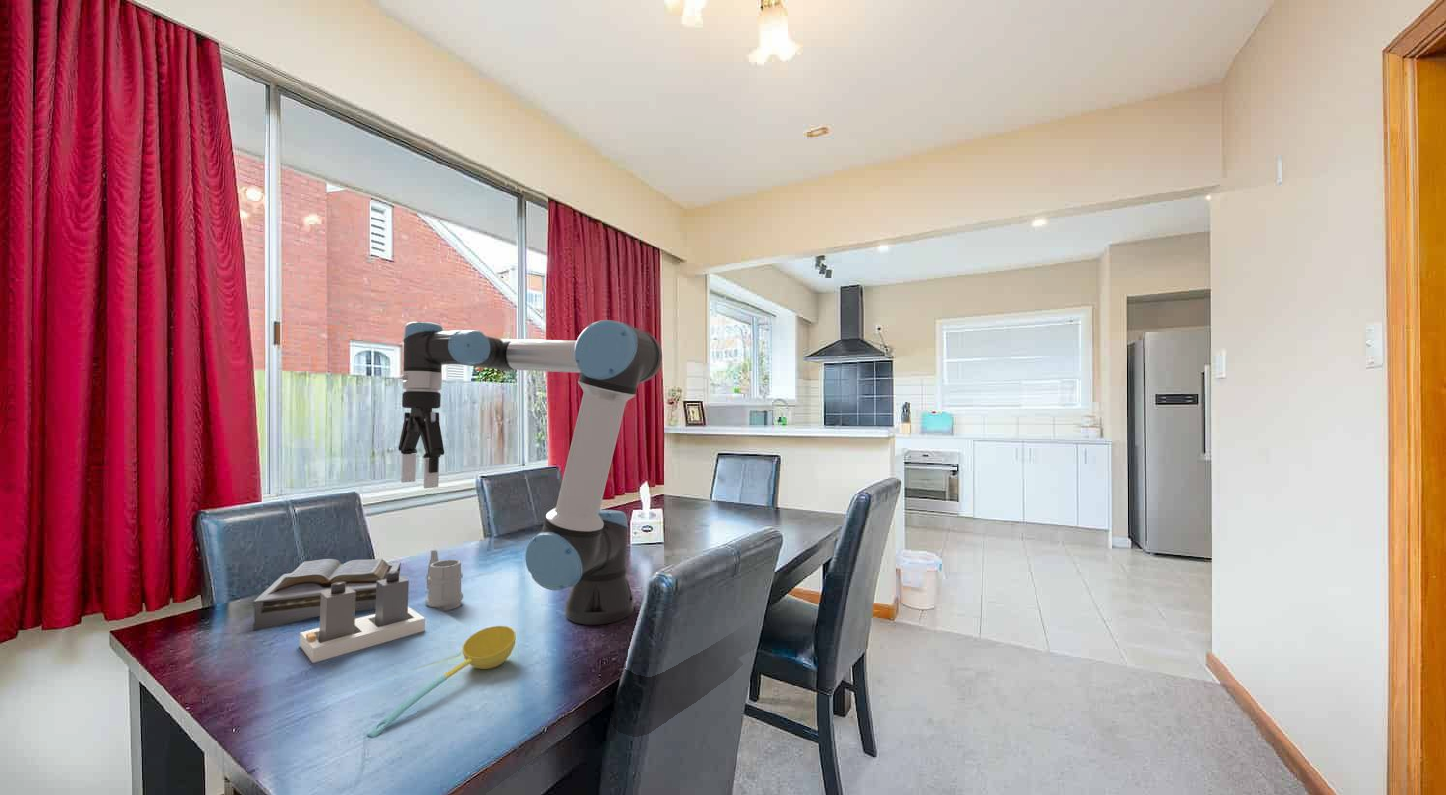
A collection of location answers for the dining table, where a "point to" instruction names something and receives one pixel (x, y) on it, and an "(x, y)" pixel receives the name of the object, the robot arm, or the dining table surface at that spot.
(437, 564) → the mug
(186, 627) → the dining table surface
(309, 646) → the strip
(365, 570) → the bible
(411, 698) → the ladle
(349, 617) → the twin plug
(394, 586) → the plug
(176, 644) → the dining table surface
